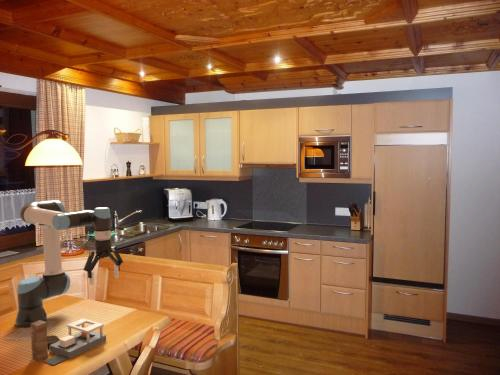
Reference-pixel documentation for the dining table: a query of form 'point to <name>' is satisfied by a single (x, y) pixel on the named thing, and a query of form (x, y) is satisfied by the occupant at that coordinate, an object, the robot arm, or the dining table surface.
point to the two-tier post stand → (80, 339)
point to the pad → (55, 360)
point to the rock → (52, 340)
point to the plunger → (84, 332)
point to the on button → (67, 341)
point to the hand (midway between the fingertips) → (104, 281)
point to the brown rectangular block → (39, 340)
